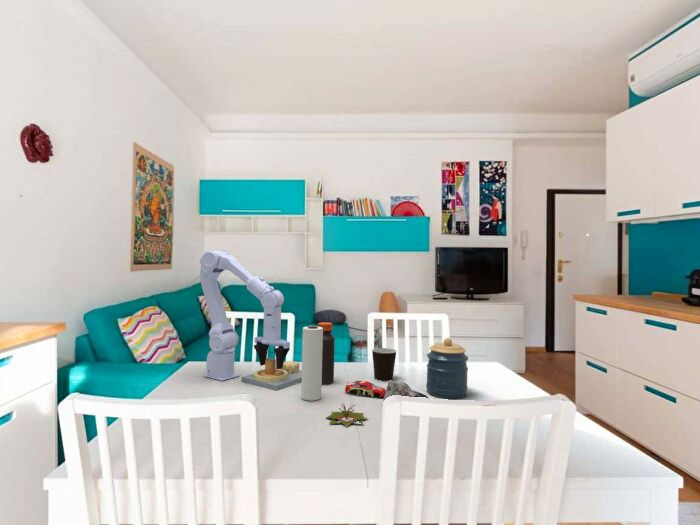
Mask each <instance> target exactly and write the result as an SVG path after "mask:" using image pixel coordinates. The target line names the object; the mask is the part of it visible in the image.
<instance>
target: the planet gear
mask: <svg viewBox="0 0 700 525" xmlns="http://www.w3.org/2000/svg"><path fill="white" fill-rule="evenodd" d="M264 367H265V368H264V369H265V371H263V372H262V373H261V374H259V375H260V376H264V377H274V376H280V375H281V372H277V371H276V358H267V359H266V360H265V365H264Z"/></svg>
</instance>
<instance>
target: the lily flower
mask: <svg viewBox="0 0 700 525" xmlns="http://www.w3.org/2000/svg"><path fill="white" fill-rule="evenodd" d="M340 405H341V408H342V409H343V410H342V409H341V408H340V407H339V408H338V410H339V411H330V412H331V414H329V415H328V416H327V417H325V419H331V420H330V422H329V423H328V425H334V424H343V425H344V426H345V427H346V428H348V427H349V425H350V424H351V425H352V424H353V425H359V424H358V423H357V422H354V421H355V420H357V421H359V423H361V424H363V425H364V423H363V422H364V421H362V420H368V418H367V417H365V416H364V412H354V411H355V409H353V407H355V406H356V403H355V404H350V406H349V407H348V409H347V407H346V404H345V403H344V402H342V403H341V404H340ZM351 418H353V419H351ZM348 419H350V420H348ZM339 421H340V422H339ZM356 423H357V424H356ZM359 426H360V425H359Z"/></svg>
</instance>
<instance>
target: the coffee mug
mask: <svg viewBox="0 0 700 525" xmlns="http://www.w3.org/2000/svg"><path fill="white" fill-rule="evenodd" d="M371 351H372V364H373V374H374V380H376V379H377V380H376V381H378V380H381V381H380V382H389V380H391V381H393V378H394V372H395V366H396V365H395V364H396V357H397V349H395V348H394V349H393V348H387V347H377V348H376V347H375V348H372V350H371Z"/></svg>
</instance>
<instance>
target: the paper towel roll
mask: <svg viewBox="0 0 700 525" xmlns="http://www.w3.org/2000/svg"><path fill="white" fill-rule="evenodd" d="M301 343H302V344H301V347H302V349H301V350H302V351H301V371H302V382H300V383H301V387H300V388H301V389H300V390H301V392H300V398H301V399H302V400H305V401H312V402H313V401H318V400H320V399H321V398H322V389H323V388H322V385H323V384H322V346H323V328H322V327H318V325H310V324H309V326H304V327H302V342H301Z"/></svg>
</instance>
